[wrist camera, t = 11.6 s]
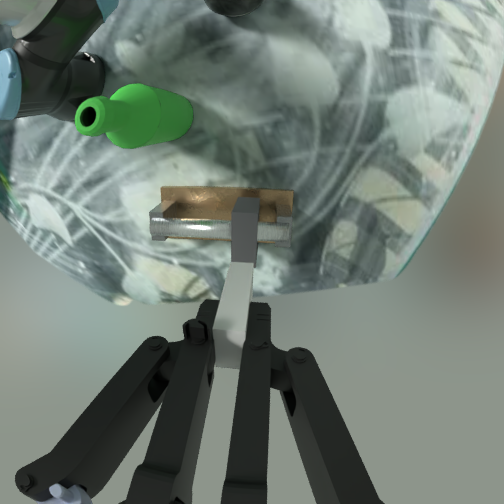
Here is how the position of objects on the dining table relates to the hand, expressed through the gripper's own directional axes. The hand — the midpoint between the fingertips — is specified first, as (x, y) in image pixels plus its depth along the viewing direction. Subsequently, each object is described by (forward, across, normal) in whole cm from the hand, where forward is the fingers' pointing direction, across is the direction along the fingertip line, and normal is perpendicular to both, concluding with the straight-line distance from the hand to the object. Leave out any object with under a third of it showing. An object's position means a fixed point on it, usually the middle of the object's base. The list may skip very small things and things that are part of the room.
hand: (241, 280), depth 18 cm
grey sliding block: (+29, -1, -6) cm, 29 cm away
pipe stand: (+32, -6, -6) cm, 33 cm away
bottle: (+33, -16, +12) cm, 38 cm away
